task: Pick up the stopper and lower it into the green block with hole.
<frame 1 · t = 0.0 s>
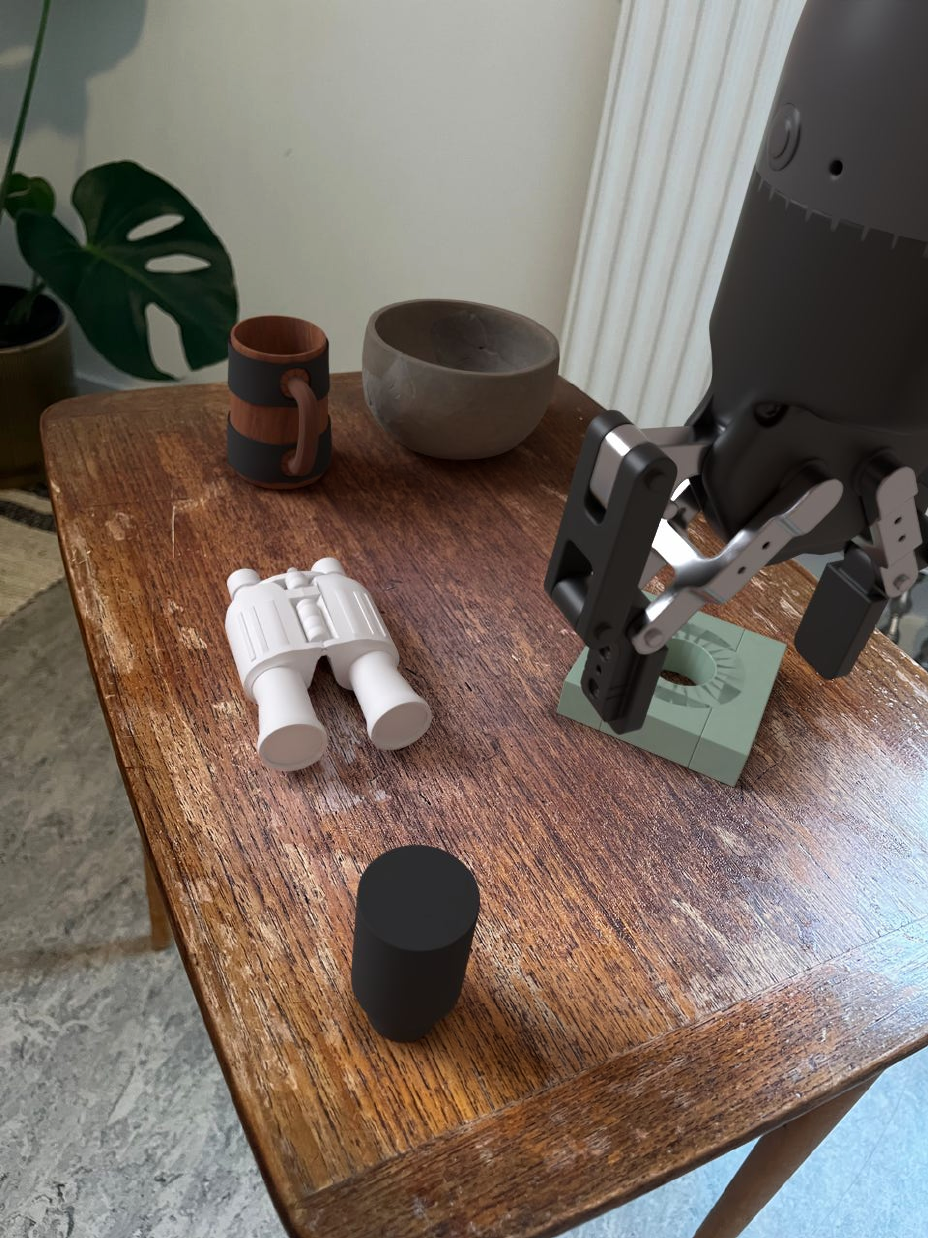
hand: (720, 687, 32), 23 cm above the table, tool pointing down, fingers open, 8 cm apart
green block with hole: (669, 693, 65), on the table
binoculars: (314, 677, 63), on the table
mug: (286, 477, 81), on the table
bowl: (451, 435, 89), on the table
stopper: (402, 1005, 46), on the table
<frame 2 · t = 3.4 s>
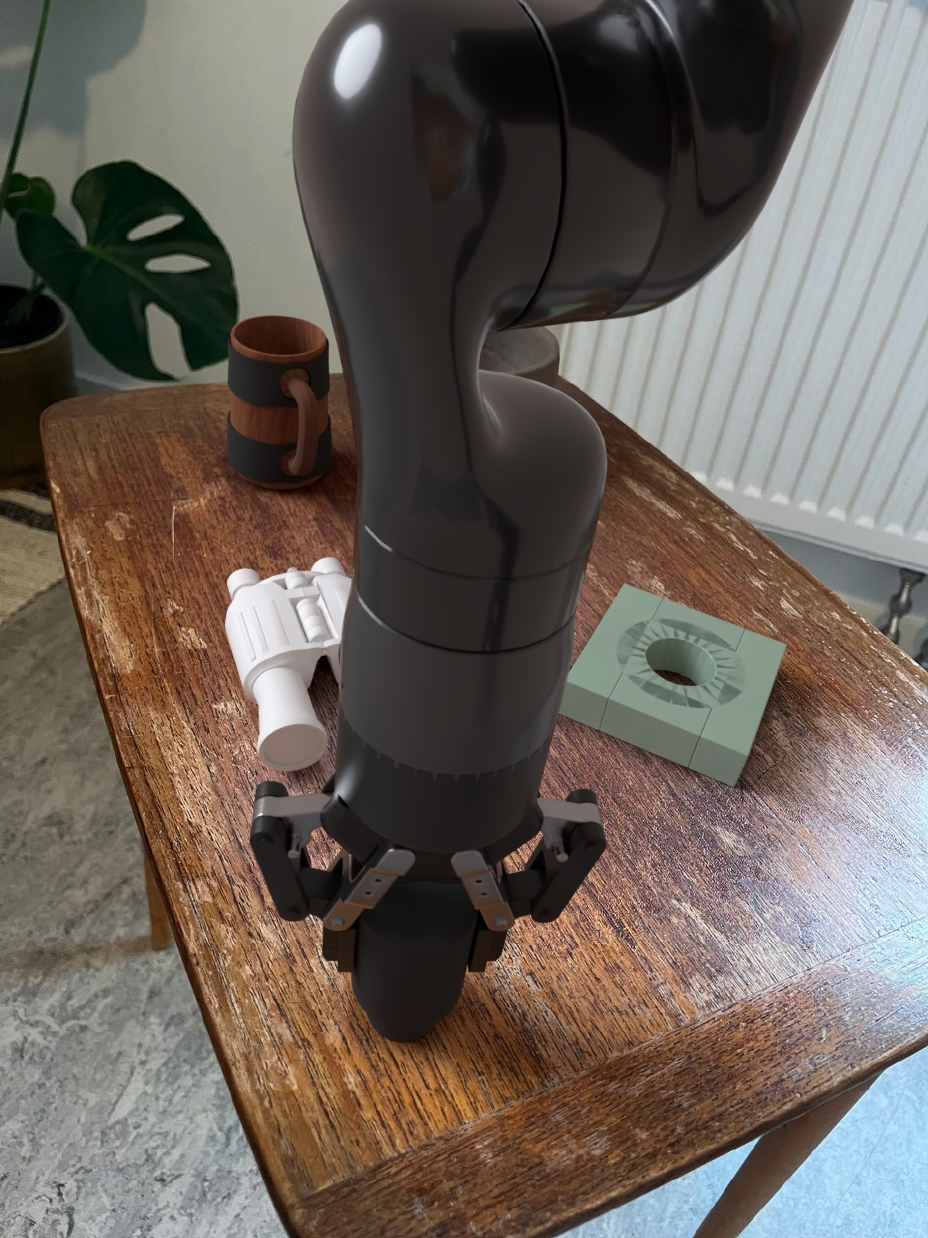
hand: (411, 953, 43), 5 cm above the table, tool pointing down, fingers closed on stopper, 5 cm apart
stopper: (403, 1005, 46), on the table, touching gripper
everything else where it was.
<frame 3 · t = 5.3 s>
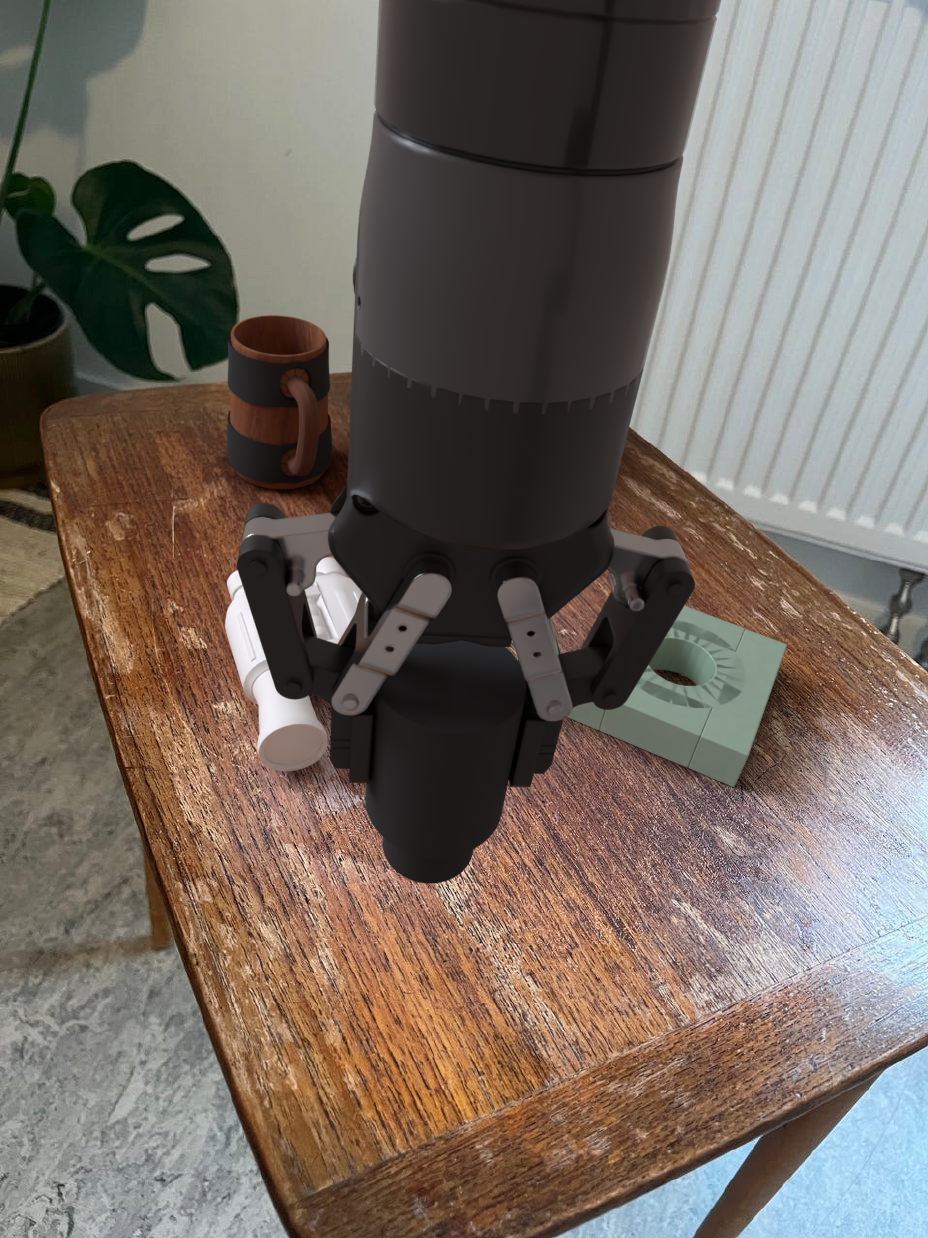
hand: (439, 766, 35), 17 cm above the table, tool pointing down, fingers closed on stopper, 5 cm apart
stopper: (427, 845, 38), point 13 cm above the table, touching gripper
everything else where it was.
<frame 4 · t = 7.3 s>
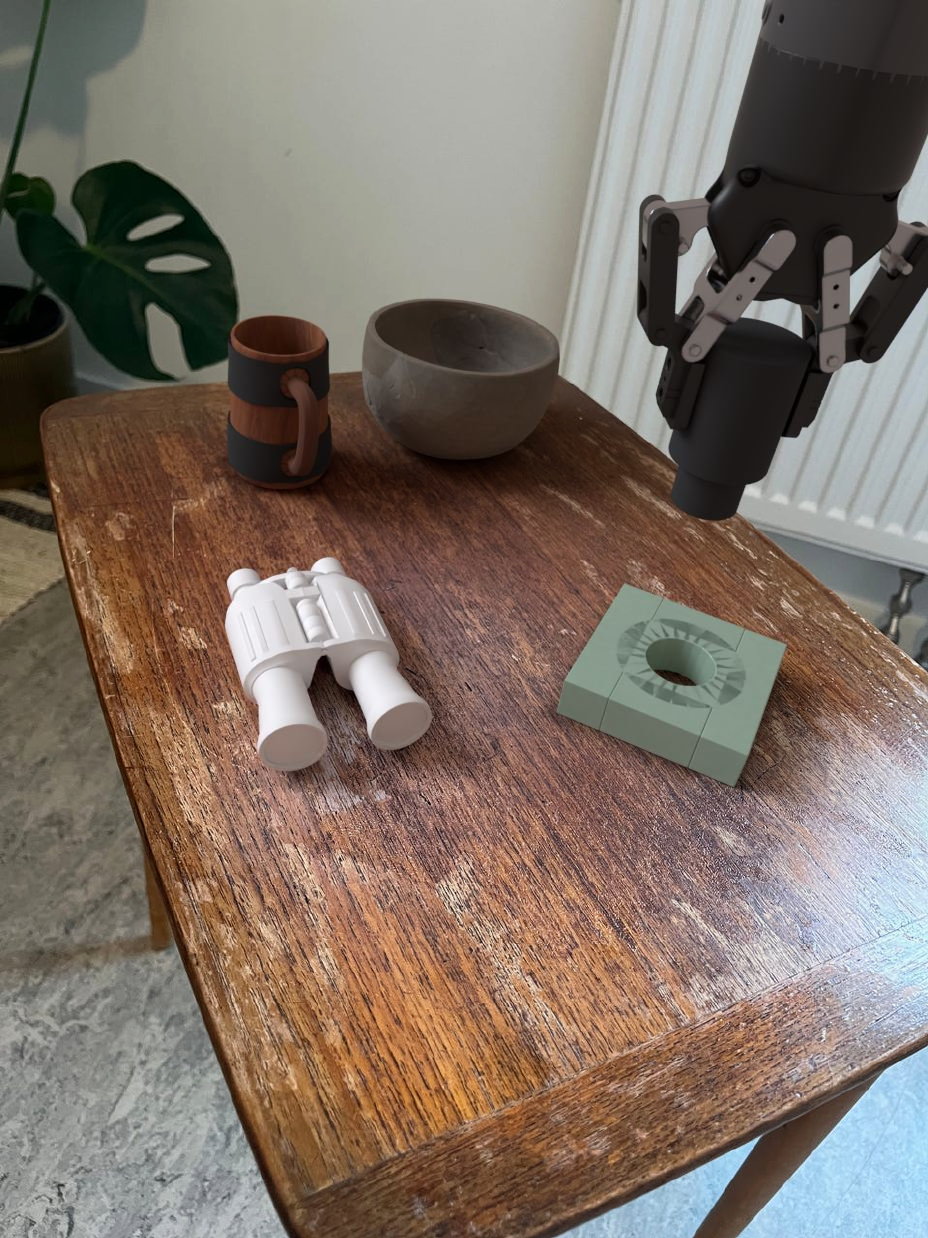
hand: (729, 424, 48), 22 cm above the table, tool pointing down, fingers closed on stopper, 5 cm apart
stopper: (703, 501, 51), point 17 cm above the table, touching gripper
everything else where it was.
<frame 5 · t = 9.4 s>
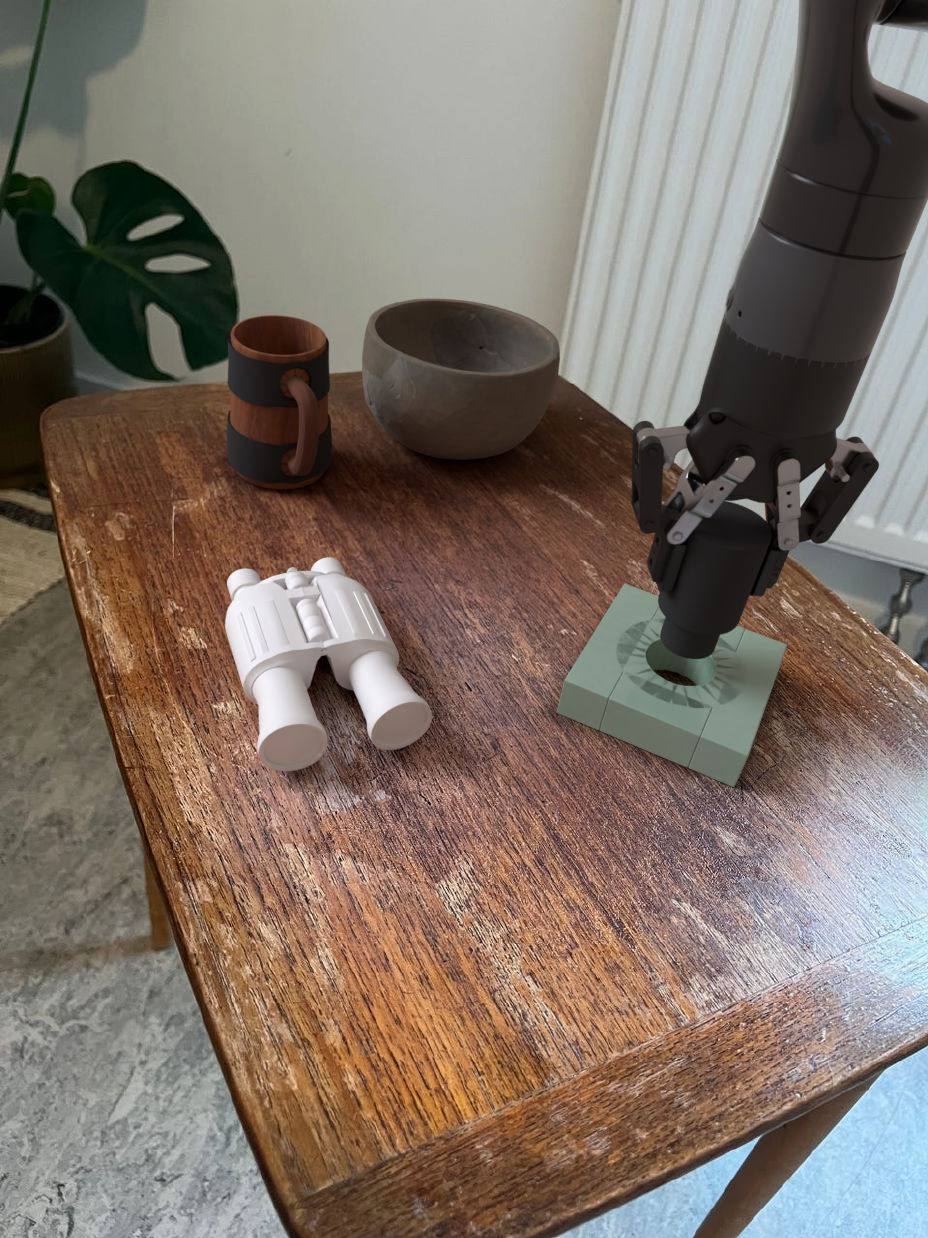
hand: (707, 584, 59), 9 cm above the table, tool pointing down, fingers closed on stopper, 5 cm apart
stopper: (687, 640, 62), point 5 cm above the table, touching gripper
everything else where it was.
when the fingers open (5 cm above the table, at t = 11.2 s): stopper stays where it is, resting on green block with hole.
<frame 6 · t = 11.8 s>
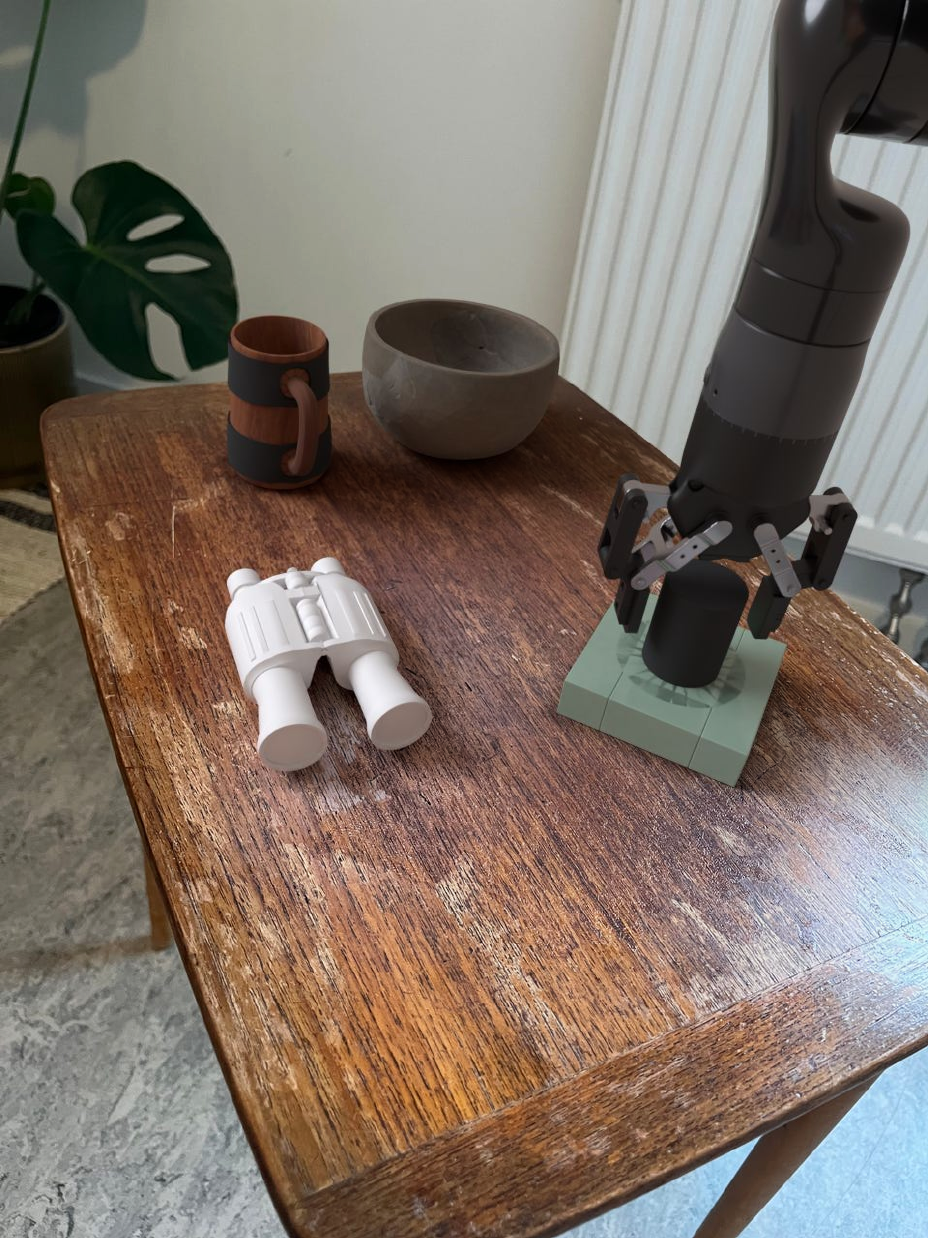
hand: (692, 628, 62), 6 cm above the table, tool pointing down, fingers open, 8 cm apart
stopper: (669, 689, 65), resting on green block with hole
everything else where it was.
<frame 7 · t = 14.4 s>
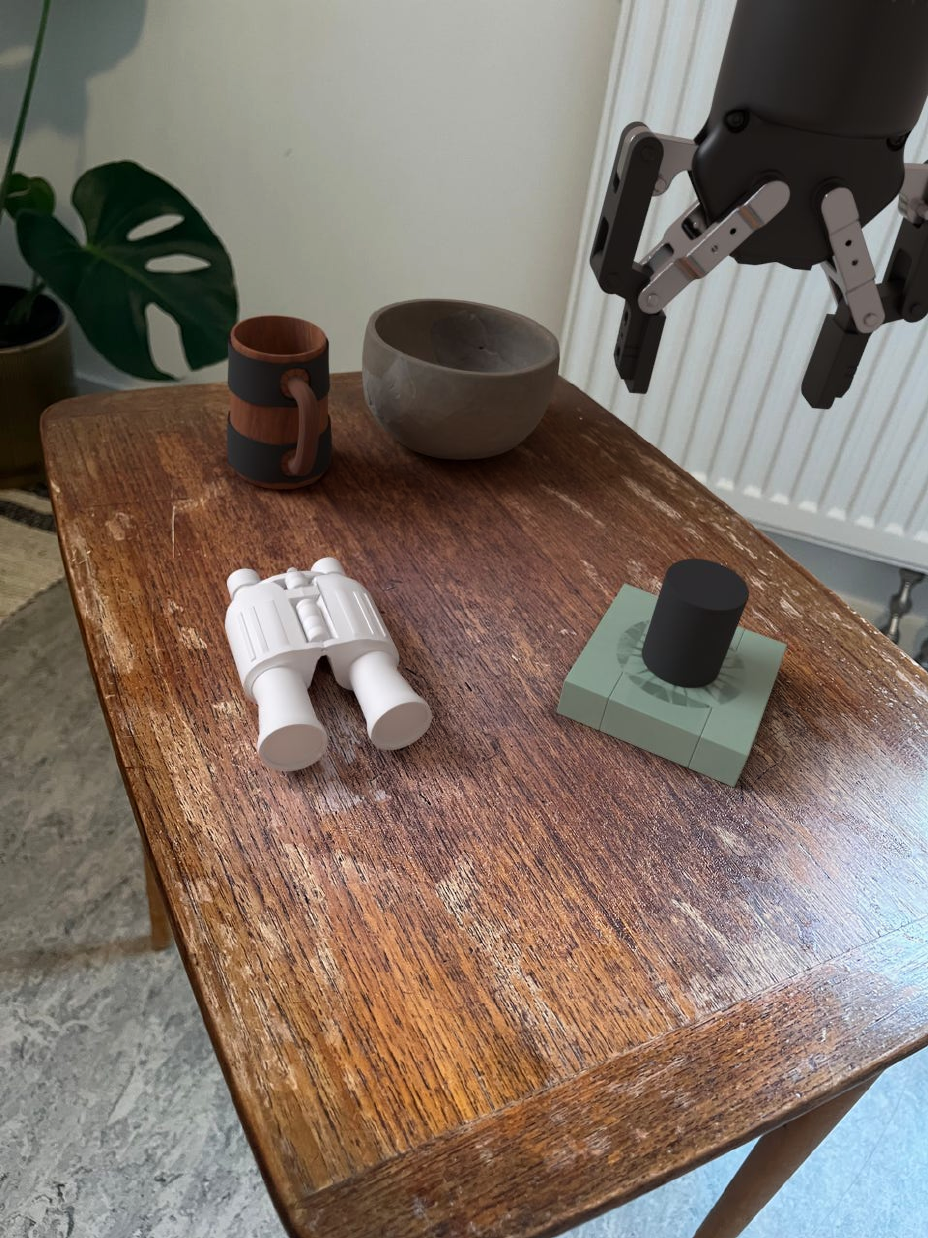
hand: (725, 394, 44), 25 cm above the table, tool pointing down, fingers open, 8 cm apart
nothing on the table moved.
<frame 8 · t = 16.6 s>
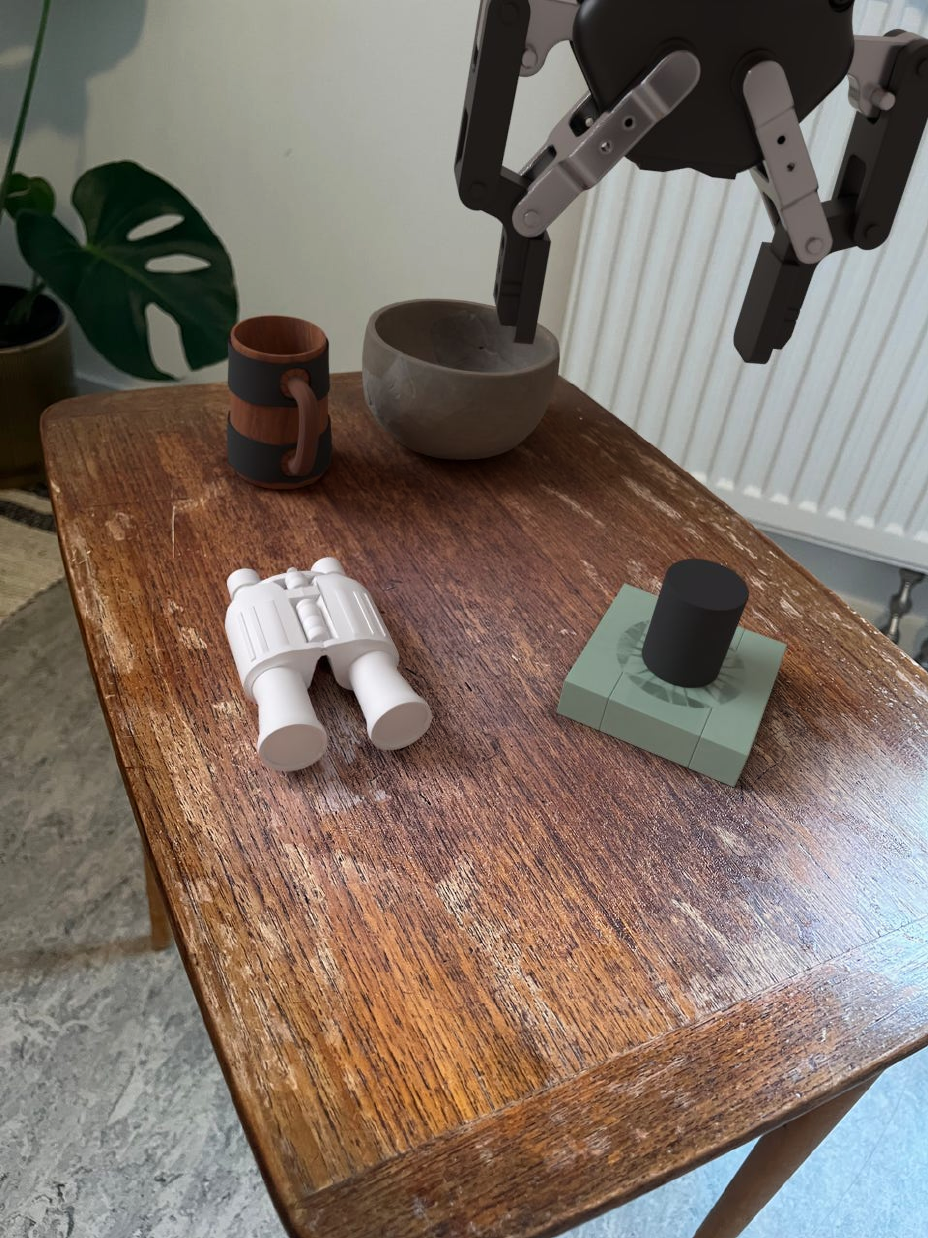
hand: (636, 345, 35), 30 cm above the table, tool pointing down, fingers open, 8 cm apart
nothing on the table moved.
at the end: stopper 0.0 cm off-centre in the green block with hole, point 0.3 cm above the green block with hole's base; stopper tilted 0°; the gripper is holding nothing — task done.
